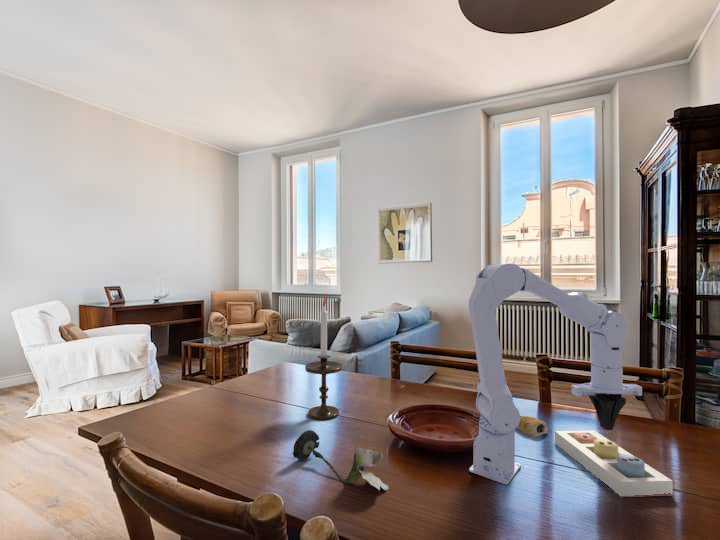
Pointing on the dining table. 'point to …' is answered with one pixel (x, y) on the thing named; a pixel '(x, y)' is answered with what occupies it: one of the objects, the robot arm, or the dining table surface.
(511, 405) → the robot arm
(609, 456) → the mustard button
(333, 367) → the candlestick
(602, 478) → the button panel
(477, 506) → the dining table surface
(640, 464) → the slate button
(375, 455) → the artificial flower
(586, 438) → the terracotta button
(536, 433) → the pastry
